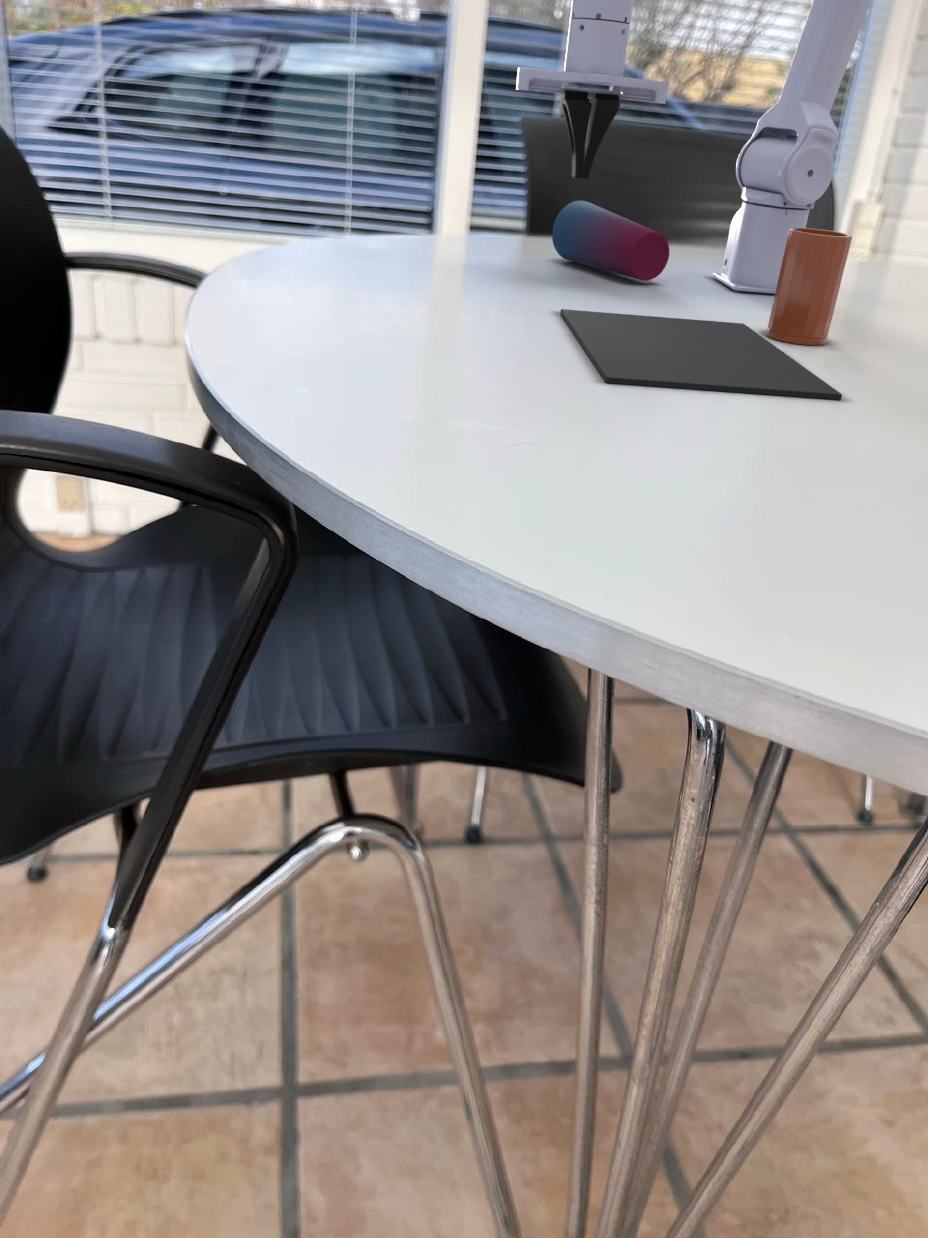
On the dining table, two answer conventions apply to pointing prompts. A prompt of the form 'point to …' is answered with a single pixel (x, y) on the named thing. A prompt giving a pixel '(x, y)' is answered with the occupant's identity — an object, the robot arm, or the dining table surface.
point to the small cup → (808, 285)
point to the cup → (609, 241)
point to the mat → (690, 355)
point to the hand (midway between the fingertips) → (580, 177)
